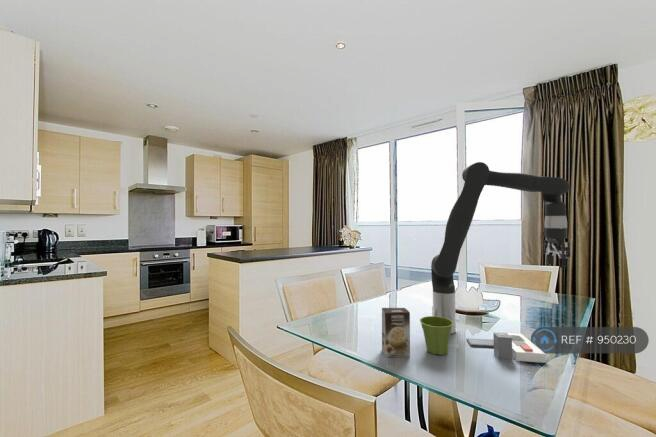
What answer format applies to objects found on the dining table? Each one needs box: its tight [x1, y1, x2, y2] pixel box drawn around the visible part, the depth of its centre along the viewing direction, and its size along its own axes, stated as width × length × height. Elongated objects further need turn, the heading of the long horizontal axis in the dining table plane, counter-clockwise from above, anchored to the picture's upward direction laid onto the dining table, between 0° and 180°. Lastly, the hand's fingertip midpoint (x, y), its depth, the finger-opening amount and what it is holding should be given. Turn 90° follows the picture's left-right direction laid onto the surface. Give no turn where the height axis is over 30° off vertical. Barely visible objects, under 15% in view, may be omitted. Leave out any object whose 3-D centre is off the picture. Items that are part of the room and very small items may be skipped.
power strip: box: [506, 332, 546, 364], centre depth 111 cm, size 9×18×4 cm, turn 169°
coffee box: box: [381, 307, 411, 358], centre depth 110 cm, size 9×6×16 cm
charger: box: [493, 331, 513, 362], centre depth 106 cm, size 4×4×8 cm
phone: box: [466, 337, 494, 349], centre depth 117 cm, size 12×6×1 cm, turn 80°
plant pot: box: [419, 315, 453, 356], centre depth 112 cm, size 12×12×11 cm
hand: (556, 266), depth 124 cm, fingers open, 8 cm apart
